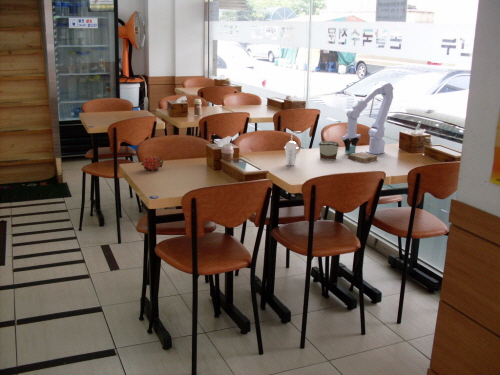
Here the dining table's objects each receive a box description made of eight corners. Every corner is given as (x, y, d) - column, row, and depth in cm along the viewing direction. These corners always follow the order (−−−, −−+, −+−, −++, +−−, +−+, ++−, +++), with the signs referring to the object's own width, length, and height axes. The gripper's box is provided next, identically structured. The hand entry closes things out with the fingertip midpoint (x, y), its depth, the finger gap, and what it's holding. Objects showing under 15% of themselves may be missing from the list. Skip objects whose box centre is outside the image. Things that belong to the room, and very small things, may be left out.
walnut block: (361, 156, 331) (361, 152, 331) (376, 161, 322) (377, 156, 321) (347, 159, 325) (348, 154, 324) (363, 163, 315) (363, 158, 315)
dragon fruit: (165, 172, 291) (143, 177, 288) (162, 160, 295) (140, 165, 293) (164, 162, 284) (142, 167, 281) (161, 150, 289) (138, 155, 286)
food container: (337, 157, 326) (339, 141, 324) (338, 159, 321) (339, 143, 318) (317, 156, 328) (318, 140, 325) (317, 158, 322) (318, 142, 319)
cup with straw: (289, 162, 312) (291, 128, 306) (301, 165, 306) (303, 130, 300) (280, 164, 306) (281, 130, 300) (292, 168, 300) (293, 132, 294)
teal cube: (349, 151, 339) (350, 144, 338) (355, 152, 336) (355, 145, 334) (344, 152, 336) (345, 145, 335) (350, 153, 333) (350, 146, 332)
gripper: (355, 126, 339) (353, 147, 343) (338, 128, 331) (337, 150, 334) (363, 128, 333) (361, 149, 337) (347, 130, 325) (345, 152, 329)
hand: (350, 150), depth 336 cm, fingers closed on teal cube, 4 cm apart
